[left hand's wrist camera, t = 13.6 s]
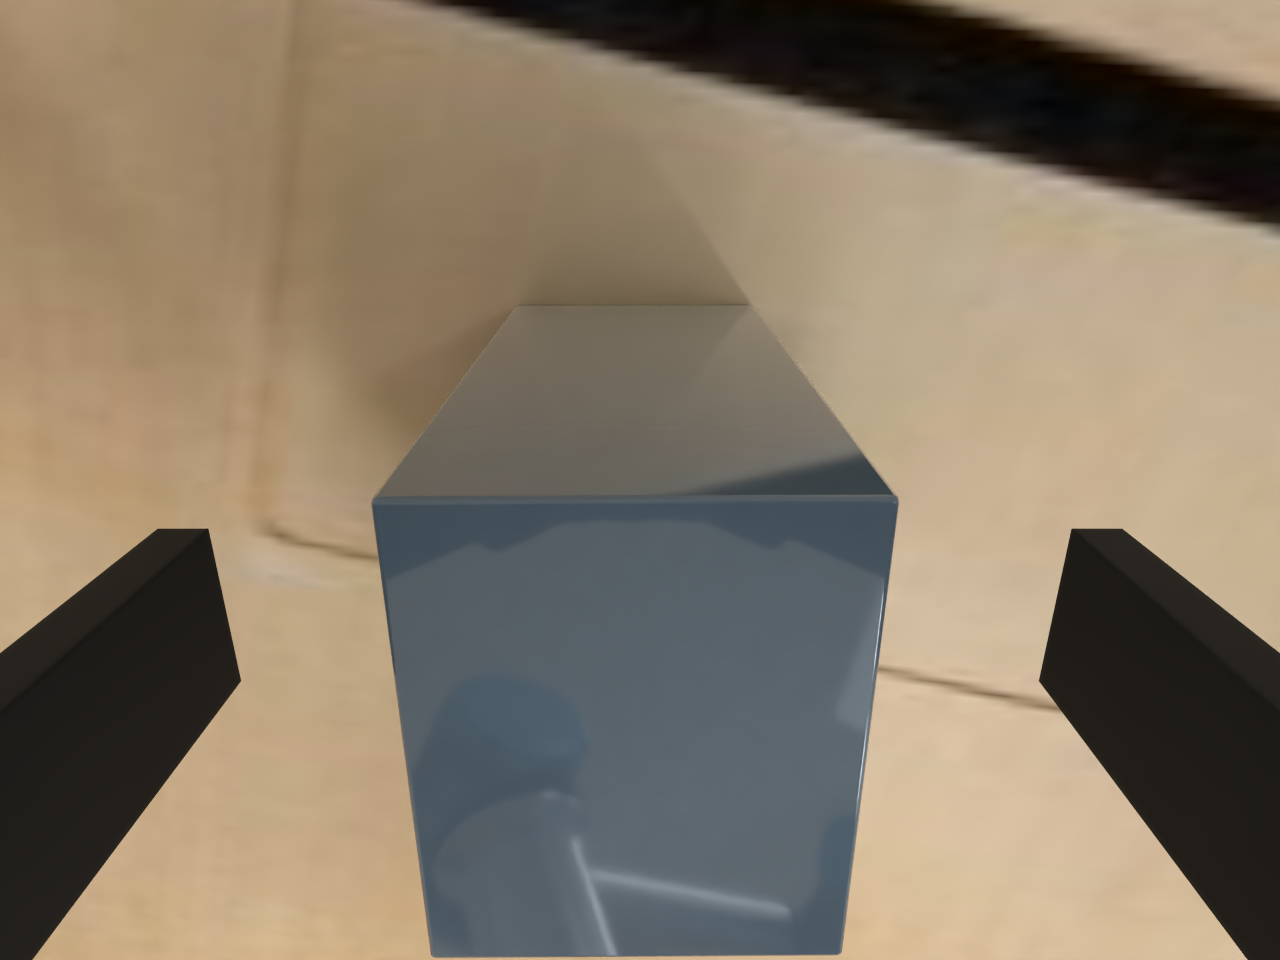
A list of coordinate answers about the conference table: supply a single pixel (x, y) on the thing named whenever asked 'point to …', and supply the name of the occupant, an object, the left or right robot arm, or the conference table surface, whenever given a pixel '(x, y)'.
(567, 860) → the block
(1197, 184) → the conference table surface
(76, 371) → the conference table surface
